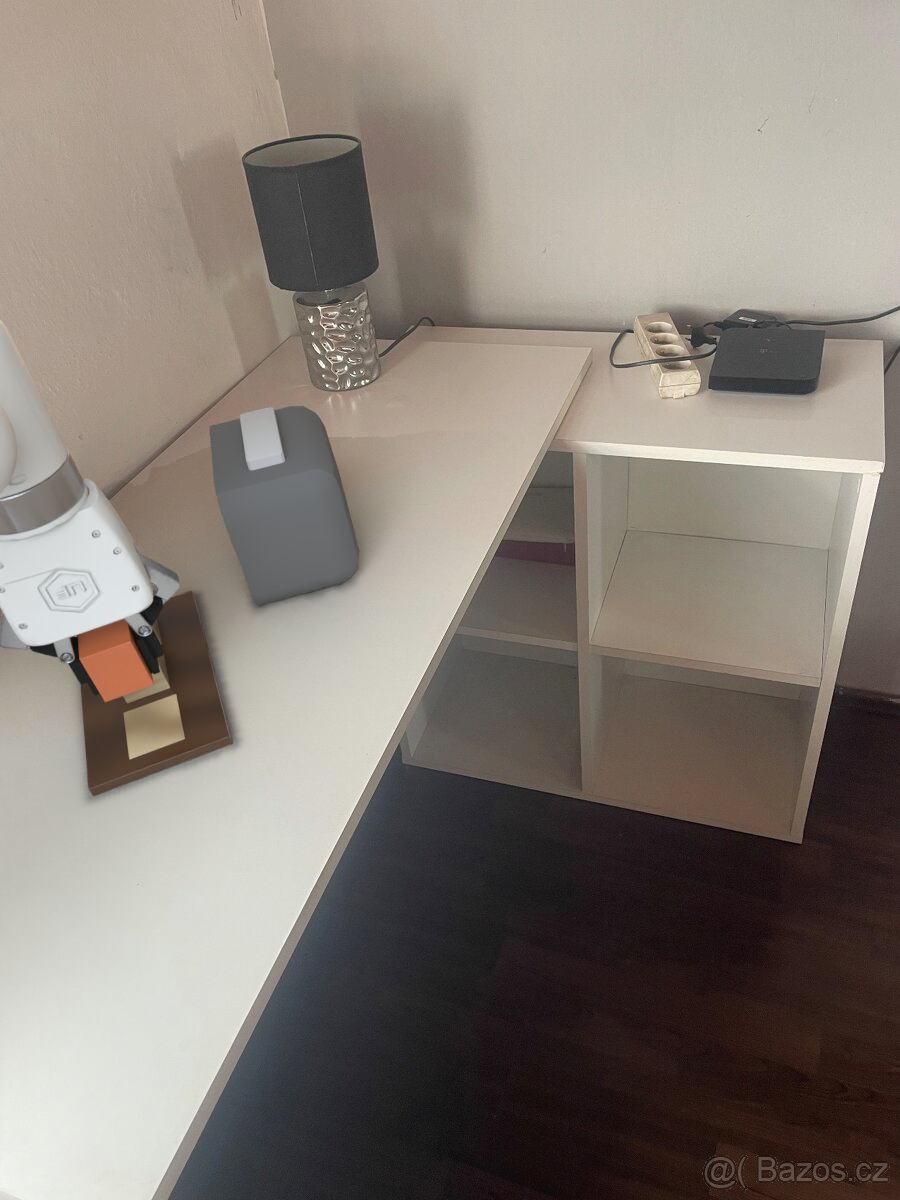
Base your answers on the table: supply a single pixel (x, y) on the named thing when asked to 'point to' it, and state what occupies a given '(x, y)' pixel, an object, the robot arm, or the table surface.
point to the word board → (158, 710)
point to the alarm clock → (283, 502)
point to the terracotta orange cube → (113, 660)
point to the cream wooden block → (159, 685)
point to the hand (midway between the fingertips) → (125, 671)
